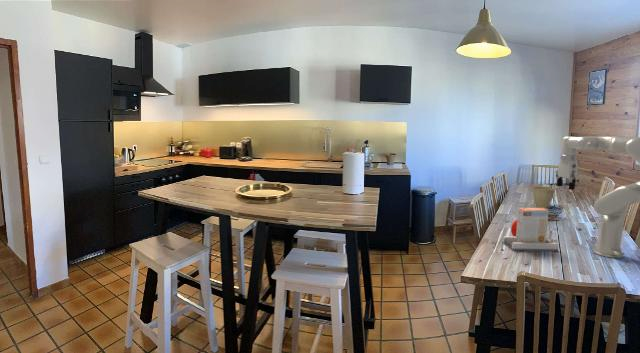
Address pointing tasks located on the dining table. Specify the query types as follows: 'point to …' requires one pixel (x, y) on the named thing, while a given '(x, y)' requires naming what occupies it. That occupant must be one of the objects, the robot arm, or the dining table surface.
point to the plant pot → (543, 196)
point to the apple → (514, 228)
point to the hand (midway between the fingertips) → (565, 187)
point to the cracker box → (532, 225)
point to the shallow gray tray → (529, 245)
